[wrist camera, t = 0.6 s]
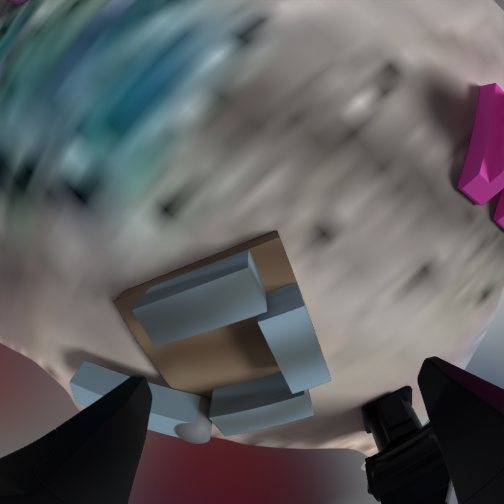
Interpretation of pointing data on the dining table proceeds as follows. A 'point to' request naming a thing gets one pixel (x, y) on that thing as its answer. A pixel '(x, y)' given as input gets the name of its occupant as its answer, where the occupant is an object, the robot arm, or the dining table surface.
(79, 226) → the dining table surface
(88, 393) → the folding leg
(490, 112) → the magenta blocky figure
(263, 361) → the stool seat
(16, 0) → the gum box
